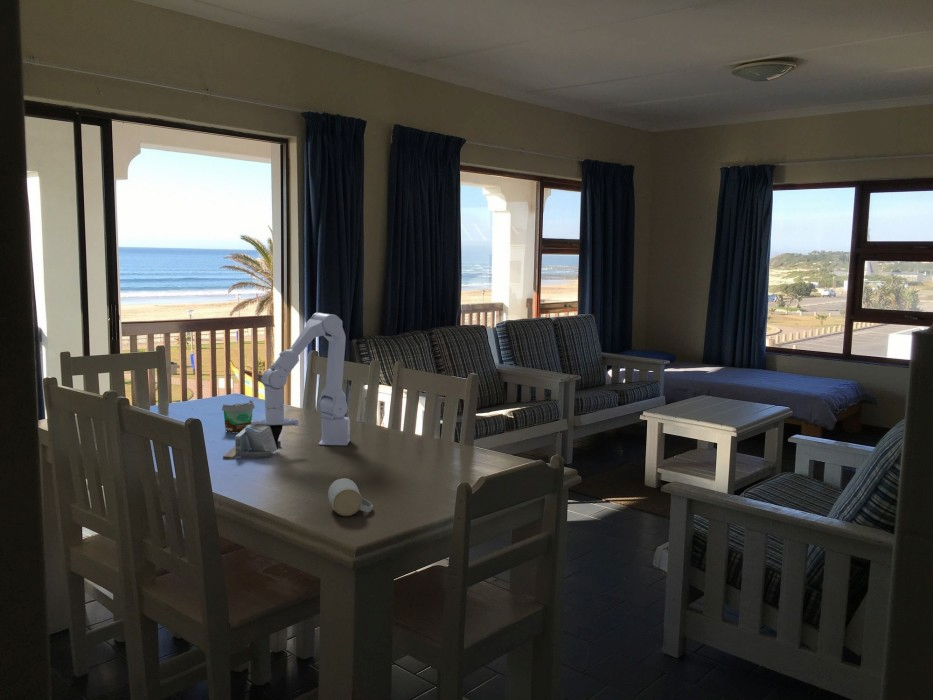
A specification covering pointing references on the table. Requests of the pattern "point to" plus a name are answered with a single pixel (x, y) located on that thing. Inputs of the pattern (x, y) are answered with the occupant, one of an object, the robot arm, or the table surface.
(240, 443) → the door panel
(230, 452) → the threshold strip
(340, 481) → the ceramic mug
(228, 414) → the food container
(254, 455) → the keeper cleats
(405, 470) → the table surface
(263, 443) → the medicine box
